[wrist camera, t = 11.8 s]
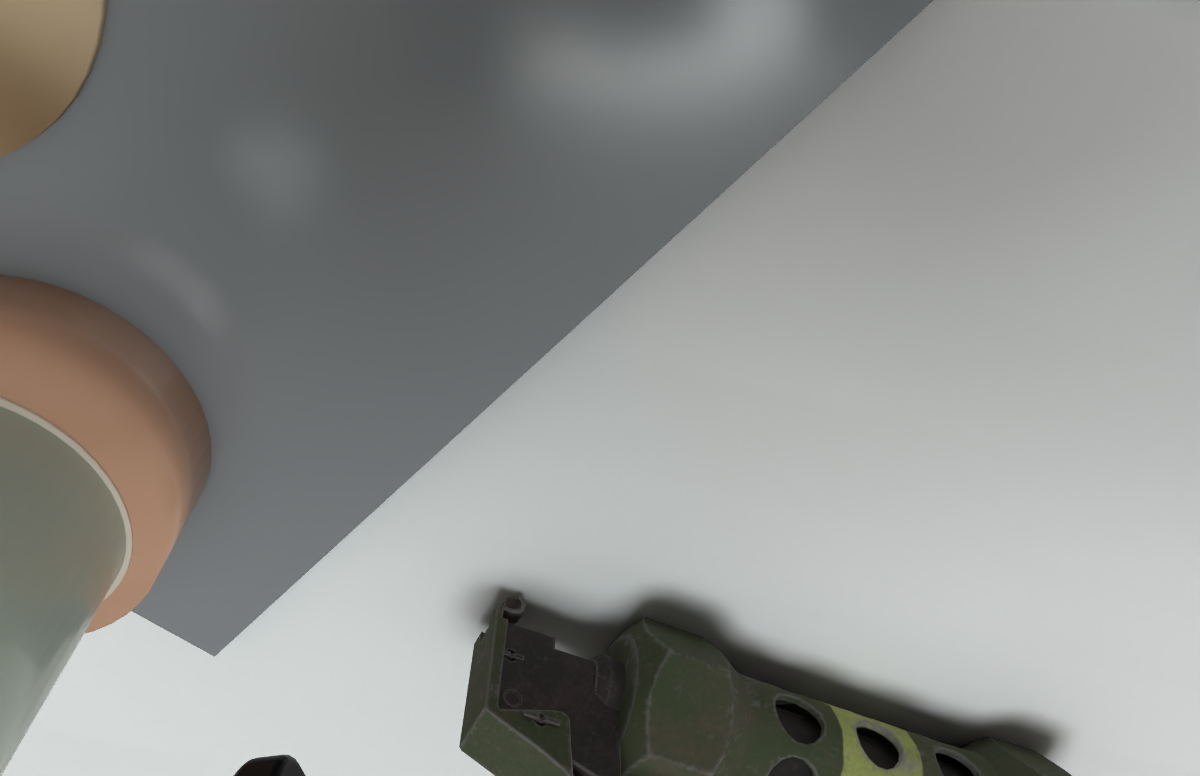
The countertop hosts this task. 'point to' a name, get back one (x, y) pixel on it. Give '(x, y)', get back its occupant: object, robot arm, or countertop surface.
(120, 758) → the countertop surface
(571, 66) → the slate board
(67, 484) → the cloche
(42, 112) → the cork mat
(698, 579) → the countertop surface
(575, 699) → the green toy tank
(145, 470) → the ramekin
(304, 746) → the countertop surface
